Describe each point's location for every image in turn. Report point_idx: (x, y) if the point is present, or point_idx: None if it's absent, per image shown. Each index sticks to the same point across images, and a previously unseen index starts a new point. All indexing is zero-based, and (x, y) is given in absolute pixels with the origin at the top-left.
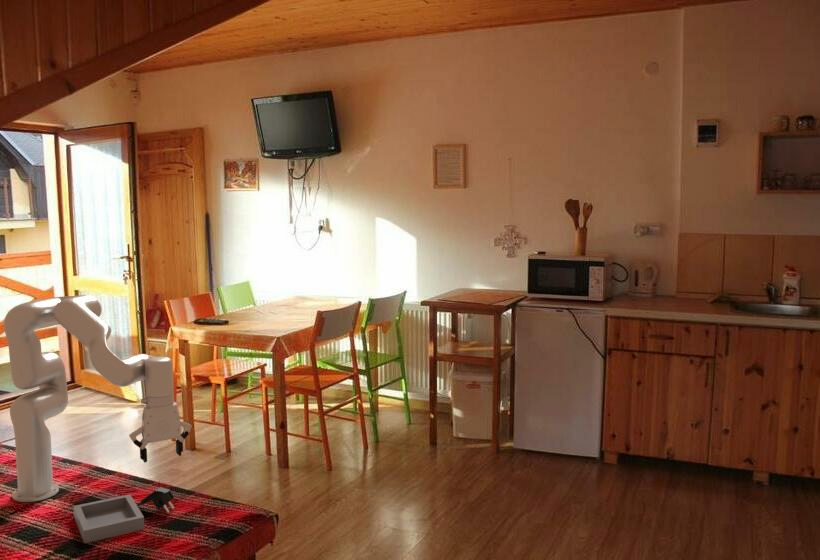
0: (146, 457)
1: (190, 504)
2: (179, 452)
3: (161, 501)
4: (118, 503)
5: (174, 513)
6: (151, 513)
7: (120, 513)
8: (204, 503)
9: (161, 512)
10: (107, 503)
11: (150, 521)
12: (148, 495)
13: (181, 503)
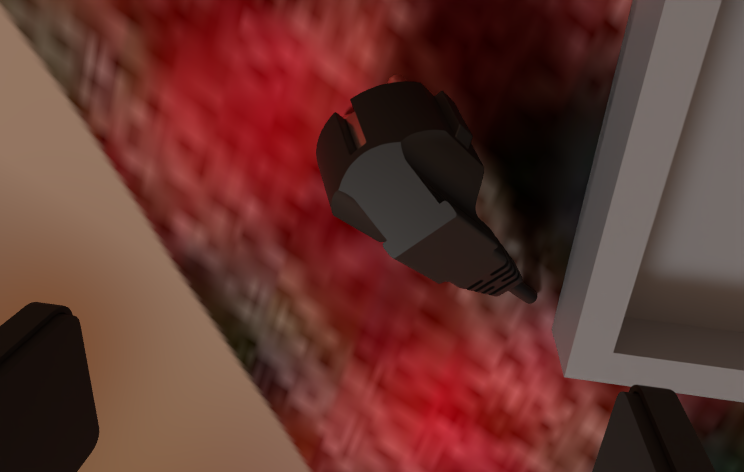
0: (662, 450)
1: (230, 118)
2: (28, 340)
3: (438, 112)
4: (653, 339)
5: (365, 44)
6: (494, 144)
7: (674, 243)
8: (143, 75)
9: None
10: (734, 359)
11: (555, 17)
12: (496, 243)
13: (277, 169)
